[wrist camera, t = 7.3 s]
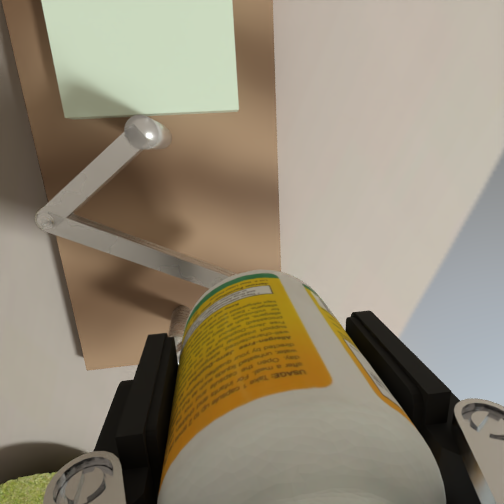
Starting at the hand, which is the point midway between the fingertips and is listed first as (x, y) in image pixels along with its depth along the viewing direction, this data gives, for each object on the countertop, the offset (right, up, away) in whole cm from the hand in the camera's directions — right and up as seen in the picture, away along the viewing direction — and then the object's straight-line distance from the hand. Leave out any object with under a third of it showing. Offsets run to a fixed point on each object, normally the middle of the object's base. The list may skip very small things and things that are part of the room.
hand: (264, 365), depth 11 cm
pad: (-5, +14, +6) cm, 16 cm away
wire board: (-5, +7, +8) cm, 12 cm away
